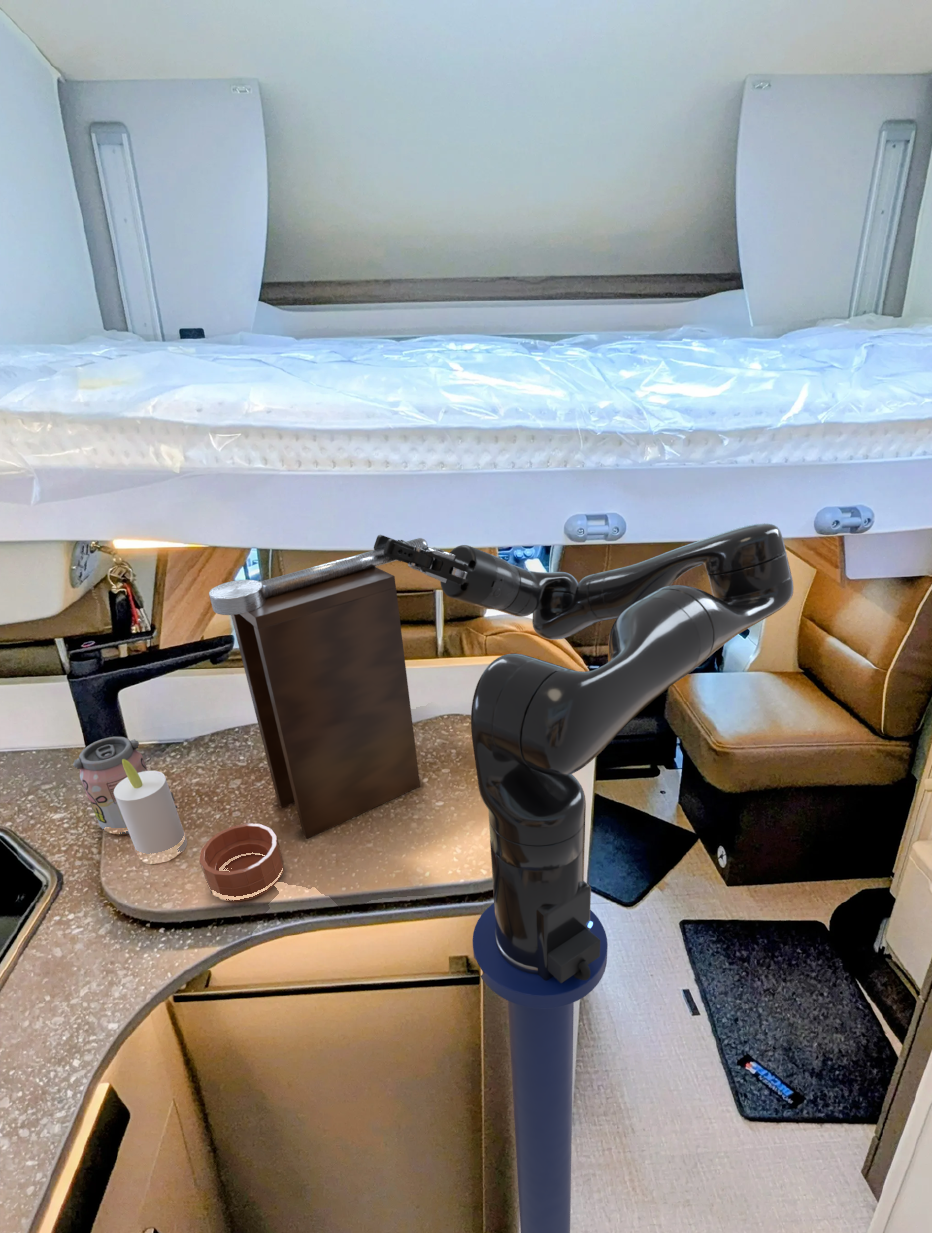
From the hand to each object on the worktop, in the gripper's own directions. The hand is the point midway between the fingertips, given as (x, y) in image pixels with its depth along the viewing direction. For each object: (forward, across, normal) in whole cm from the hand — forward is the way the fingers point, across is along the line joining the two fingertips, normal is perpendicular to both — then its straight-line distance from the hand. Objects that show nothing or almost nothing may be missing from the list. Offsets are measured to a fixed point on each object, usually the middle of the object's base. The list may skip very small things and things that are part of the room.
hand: (382, 544), depth 90 cm
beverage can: (+15, -16, +49) cm, 53 cm away
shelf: (-8, 0, +35) cm, 36 cm away
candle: (+13, -6, +48) cm, 50 cm away
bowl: (+7, +7, +44) cm, 45 cm away
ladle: (+6, 0, +6) cm, 8 cm away
